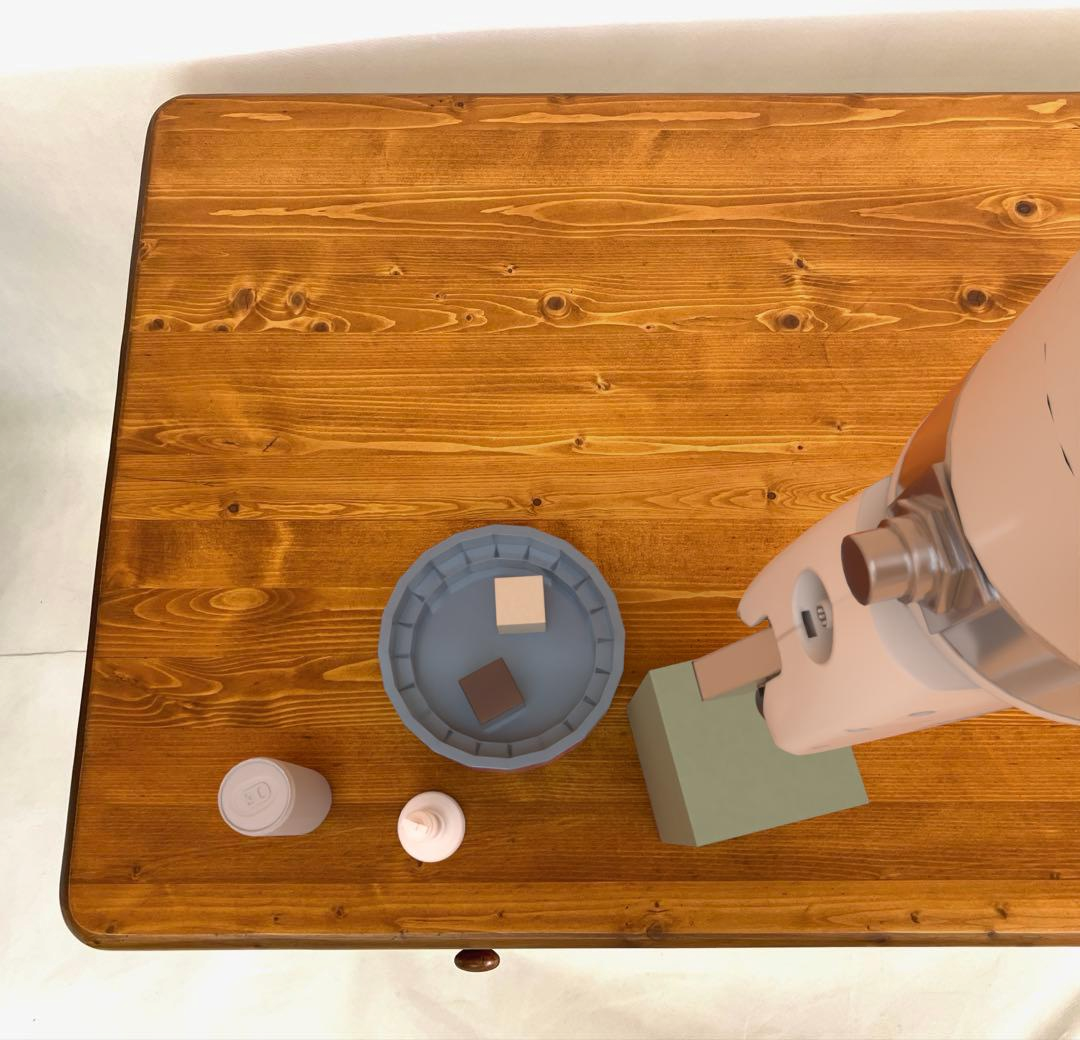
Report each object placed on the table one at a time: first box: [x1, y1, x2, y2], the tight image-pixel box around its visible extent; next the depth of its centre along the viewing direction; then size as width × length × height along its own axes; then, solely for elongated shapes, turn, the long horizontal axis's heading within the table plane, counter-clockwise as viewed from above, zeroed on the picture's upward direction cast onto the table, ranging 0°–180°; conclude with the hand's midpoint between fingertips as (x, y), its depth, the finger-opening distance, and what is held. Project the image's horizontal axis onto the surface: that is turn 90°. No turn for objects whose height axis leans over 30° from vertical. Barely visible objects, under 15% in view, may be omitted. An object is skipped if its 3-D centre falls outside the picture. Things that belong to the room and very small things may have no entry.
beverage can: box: [217, 756, 333, 837], centre depth 66 cm, size 5×5×12 cm
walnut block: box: [458, 658, 526, 729], centre depth 72 cm, size 4×4×4 cm
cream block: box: [494, 575, 546, 635], centre depth 74 cm, size 4×4×4 cm
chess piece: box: [397, 790, 466, 863], centre depth 67 cm, size 5×5×10 cm
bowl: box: [376, 523, 626, 775], centre depth 73 cm, size 18×18×6 cm
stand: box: [625, 658, 870, 848], centre depth 64 cm, size 10×10×18 cm
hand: (837, 669), depth 36 cm, fingers closed on stirring stick, 2 cm apart
